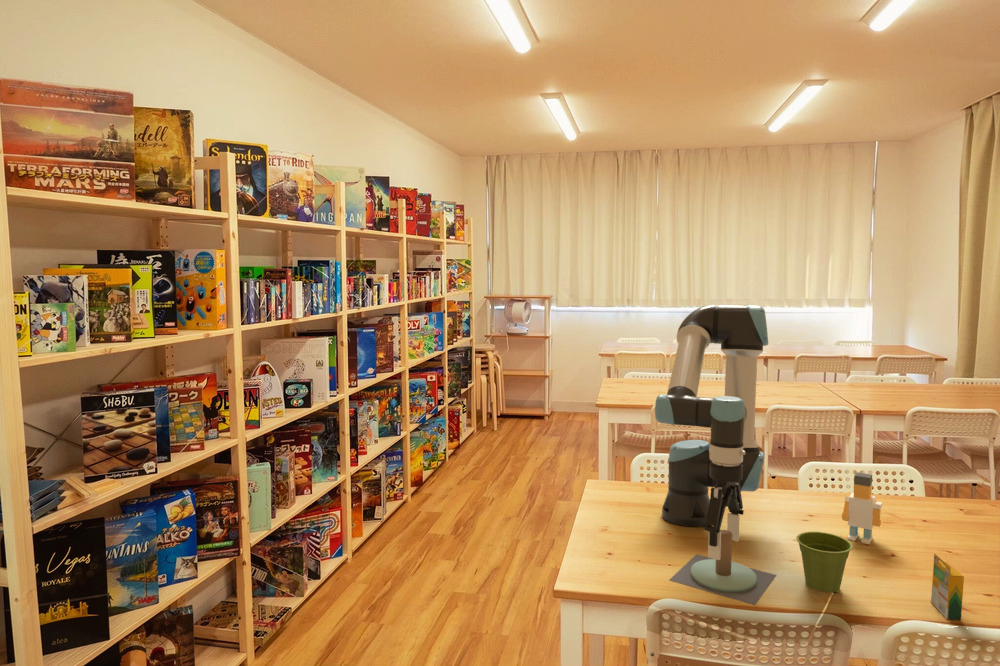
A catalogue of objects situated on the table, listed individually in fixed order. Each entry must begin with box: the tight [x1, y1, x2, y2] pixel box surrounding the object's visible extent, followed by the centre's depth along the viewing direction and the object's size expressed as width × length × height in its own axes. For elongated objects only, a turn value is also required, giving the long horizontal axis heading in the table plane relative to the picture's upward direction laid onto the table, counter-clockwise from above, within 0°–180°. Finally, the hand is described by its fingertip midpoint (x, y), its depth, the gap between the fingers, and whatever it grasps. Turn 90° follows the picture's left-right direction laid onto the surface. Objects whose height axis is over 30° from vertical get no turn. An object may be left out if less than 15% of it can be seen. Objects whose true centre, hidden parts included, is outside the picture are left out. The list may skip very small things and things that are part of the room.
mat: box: [669, 553, 777, 606], centre depth 159 cm, size 20×18×1 cm
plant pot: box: [795, 531, 854, 594], centre depth 155 cm, size 12×12×11 cm
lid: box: [691, 529, 757, 592], centre depth 159 cm, size 15×15×11 cm
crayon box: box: [930, 553, 965, 621], centre depth 143 cm, size 7×3×12 cm, turn 170°
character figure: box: [841, 471, 883, 545], centre depth 183 cm, size 8×10×18 cm
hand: (723, 548), depth 158 cm, fingers open, 13 cm apart
